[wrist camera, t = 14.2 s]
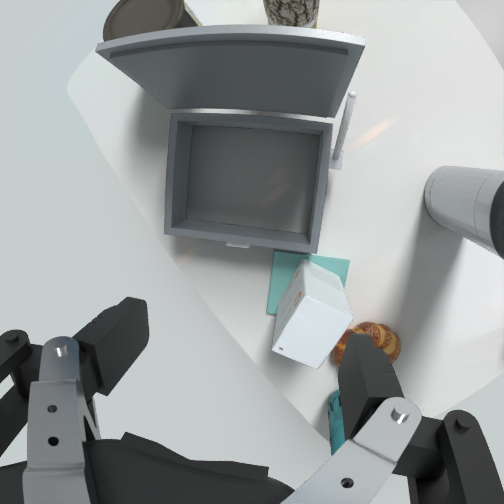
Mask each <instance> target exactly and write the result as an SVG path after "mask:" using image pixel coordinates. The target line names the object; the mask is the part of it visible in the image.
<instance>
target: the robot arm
mask: <svg viewBox="0 0 504 504" xmlns="http://www.w3.org/2000/svg"><path fill="white" fill-rule="evenodd" d="M424 198H425V205H426V208H427V211H428V213H429V215H430V216H431V217H432V219H433V220H434V221H435V222H437V223H438V224H440V225H442V226H444V227H446V228H448V229H450V230H451V231H453V232H455V233H457V234H459V235H461V236H463V237H465V238H467V239H469V240H470V241H472V242H474V243H476V244H478V245H479V246H481V247H483V248H485V249H487V250H488V251H490V252H492V253H494V254H496V255H497V256H499V257H501V258H502V259H504V171H498V170H489V169H479V168H469V167H457V166H444V167H441V168H439V169H437V170H436V171H435V172H433V173H432V175H431V176H430V177H429V179H428V181H427V184H426V188H425V196H424ZM148 340H149V325H148V312H147V303H146V301H145V300H141V299H137V298H132V297H126V298H125V299H124V300H123V301H122V302H120V303H119V304H118V305H117V306H116V305H115V306H113V307H110V308H108V309H105V310H104V311H103V312H101V313H100V314H99V315H98V316H97V317H96V318H94V319H93V320H92V321H91V322H89V323H88V324H87V325H86V326H85V327H84V328H82V329H81V330H80V331H79V332H78V333H77V334H75V335H74V336H73V337H72V338H71V337H66V336H60V337H55V338H52V339H50V340H49V341H47V342H46V343H45V344H44V346H41V345H35V344H30V341H29V338H28V335H27V333H26V332H25V331H22V330H10V331H7V332H5V333H4V334H2V335H1V336H0V383H1V382H2V381H3V380H4V379H5V378H6V377H7V376H8V375H9V374H10V376H11V378H12V380H13V382H14V386H13V387H12V388H11V389H10V390H9V391H8V392H7V393H6V394H5V395H4V396H3V397H2V398H1V399H0V457H1V455H2V454H3V453H4V451H5V450H6V449H7V448H8V446H9V445H10V444H11V442H12V441H13V440H14V438H15V437H16V436H17V435H18V433H19V432H20V431H21V430H22V428H23V427H24V426H25V425H26V423H27V422H28V426H27V461H23V462H19V463H15V464H11V465H6V466H2V467H0V504H369V503H370V502H371V501H372V500H373V498H374V497H375V496H376V494H377V493H378V491H379V490H380V489H381V487H382V486H383V485H384V483H385V482H386V480H387V479H388V477H389V476H390V474H391V473H393V474H398V475H403V476H407V479H408V486H409V494H410V503H411V504H504V491H503V487H502V484H501V481H500V478H499V475H498V472H497V469H496V466H495V463H494V461H493V458H492V455H491V453H490V450H489V447H488V445H487V442H486V440H485V437H484V435H483V433H482V430H481V428H480V425H479V423H478V421H477V420H476V418H475V417H474V416H472V415H471V414H470V413H468V412H466V411H463V410H453V411H450V412H449V413H448V414H447V415H446V416H445V418H444V419H443V420H438V419H433V418H428V417H424V416H422V415H421V411H420V409H419V408H418V406H417V405H416V404H415V403H413V402H412V401H410V400H408V399H405V398H404V395H403V393H402V390H401V387H400V384H399V382H398V379H397V376H396V374H395V371H394V368H393V367H392V363H391V360H390V358H389V356H388V355H387V354H386V353H385V352H384V351H383V350H382V349H381V348H375V347H374V344H373V341H372V338H371V336H370V334H360V333H350V334H349V337H348V340H347V343H346V347H345V350H344V353H343V357H342V360H341V363H340V366H339V372H338V383H339V391H340V399H341V408H342V417H343V426H344V437H345V443H344V444H343V445H342V446H341V447H340V448H339V449H338V450H337V451H336V453H335V454H334V455H333V456H332V457H331V458H330V459H329V460H328V461H327V462H326V463H325V464H324V465H323V466H322V467H321V468H320V469H319V470H318V471H317V472H316V473H315V474H313V475H312V476H311V478H309V479H308V480H307V481H306V482H305V483H304V484H303V485H301V486H300V487H299V488H298V489H297V490H296V491H295V490H294V489H292V488H291V487H289V486H288V485H286V484H284V483H282V482H280V481H278V480H276V479H273V478H270V477H268V470H269V467H265V466H258V465H251V464H245V463H239V462H234V461H195V460H189V459H187V458H185V457H183V456H181V455H179V454H177V453H175V452H174V451H172V450H170V449H168V448H166V447H164V446H163V445H161V444H159V443H157V442H154V441H151V440H148V439H145V438H142V437H139V436H136V435H133V434H131V433H128V432H125V433H124V435H123V437H122V438H121V440H118V439H101V436H100V431H99V426H98V420H97V414H96V408H95V401H94V398H93V395H94V394H95V393H96V392H98V393H100V394H103V395H105V396H108V395H109V393H110V392H111V391H112V389H113V388H114V387H115V386H116V384H117V383H118V382H119V381H120V379H121V378H122V377H123V375H124V374H125V373H126V371H127V370H128V369H129V368H130V366H131V365H132V364H133V362H134V361H135V360H136V359H137V357H138V356H139V355H140V354H141V352H142V351H143V350H144V349H145V347H146V346H147V343H148Z"/></svg>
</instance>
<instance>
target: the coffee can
mask: <svg viewBox="0 0 504 504" xmlns="http://www.w3.org/2000/svg"><path fill="white" fill-rule="evenodd" d="M197 26H203V24H202V23H201V22H200V21H199V19H198V18H197V17H196V15H195V14H194V13H193V11H192V10H191V9H190V8H189V6H188V5H187V4H186V2H185V1H184V0H120V1H119V2H118V3H117V4H116V5H115V7H114V8H113V9H112V11H111V12H110V14H109V15H108V17H107V19H106V22H105V25H104V29H103V40H104V42H106V41H110V40H114V39H118V38H123V37H127V36H132V35H138V34H143V33H149V32H155V31H162V30H169V29H177V28H186V27H197Z"/></svg>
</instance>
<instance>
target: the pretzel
mask: <svg viewBox="0 0 504 504" xmlns="http://www.w3.org/2000/svg"><path fill="white" fill-rule="evenodd" d="M350 333H360V334H370V336H371V338H372V341H373V344H374V347H375V348H381V349H382V350H383V351H384V352H385V353H386V354H387V355H388V356H389V358H390V360H391V363H393V362H394V361H395V360H396V359H397V357H398V356H399V353H400V349H401V344H400V340H399V338H398V337H397V335H396V334H395V333H393V332H391V330H390V329H389V328H388V327H387V326H385V325H382V324H375V323H372V322H364V323H361V324H359V325H357V326H356V327H354V328H353V329H349V330H347V331H345V333H344V334H343V335H342V337H341V338H340V340H339V341H338V343H337V344H336V346H335V347H334V349H333V352H332V360H333V362H334V363H335V364H336V365H337V366H338V367H339V366H340V363H341V360H342V357H343V353H344V350H345V347H346V343H347V340H348V337H349V334H350Z"/></svg>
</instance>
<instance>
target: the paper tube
mask: <svg viewBox="0 0 504 504" xmlns="http://www.w3.org/2000/svg"><path fill="white" fill-rule="evenodd" d="M263 3H264V7H265V11H266V15H267V18H268V22H269V25H277V26H292V27H303V28H312V29H316V24H317V17H318V9H319V0H263Z"/></svg>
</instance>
